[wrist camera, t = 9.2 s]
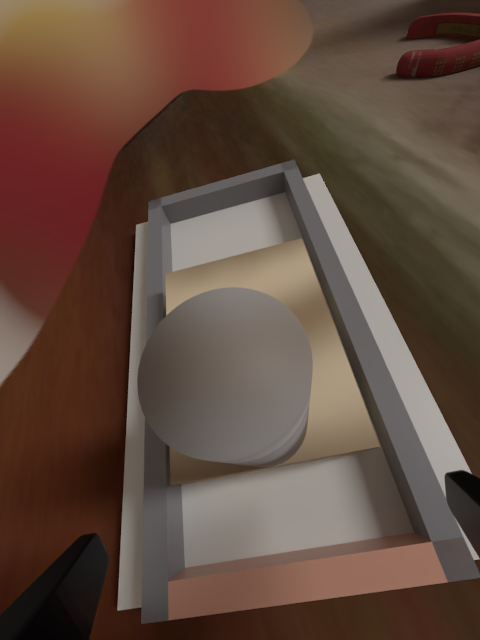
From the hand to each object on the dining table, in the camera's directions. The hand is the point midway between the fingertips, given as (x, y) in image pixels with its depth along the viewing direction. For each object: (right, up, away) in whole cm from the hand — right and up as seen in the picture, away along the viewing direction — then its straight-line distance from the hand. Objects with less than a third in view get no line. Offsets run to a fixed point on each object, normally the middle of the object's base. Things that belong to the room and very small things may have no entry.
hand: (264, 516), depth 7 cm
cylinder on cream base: (+1, +2, +11) cm, 11 cm away
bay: (0, +4, +13) cm, 14 cm away
